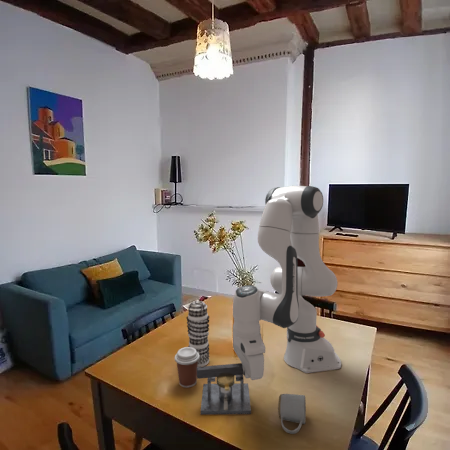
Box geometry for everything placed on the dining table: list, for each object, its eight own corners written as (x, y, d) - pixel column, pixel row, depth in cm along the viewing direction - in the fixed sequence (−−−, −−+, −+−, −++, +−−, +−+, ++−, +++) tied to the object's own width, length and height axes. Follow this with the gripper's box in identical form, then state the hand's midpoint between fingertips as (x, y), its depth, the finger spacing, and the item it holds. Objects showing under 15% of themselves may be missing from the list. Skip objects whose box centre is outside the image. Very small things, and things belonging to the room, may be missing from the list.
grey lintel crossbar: (250, 371, 116) (250, 356, 115) (256, 388, 107) (256, 371, 106) (196, 376, 114) (196, 360, 113) (197, 393, 105) (197, 376, 104)
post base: (248, 386, 118) (248, 365, 117) (250, 414, 104) (250, 390, 103) (203, 386, 118) (203, 365, 117) (200, 414, 104) (199, 390, 103)
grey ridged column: (207, 368, 130) (205, 308, 126) (184, 366, 131) (182, 306, 128) (212, 356, 138) (211, 299, 135) (191, 354, 140) (190, 298, 137)
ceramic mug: (279, 408, 107) (279, 386, 106) (305, 412, 105) (306, 390, 103) (276, 433, 97) (276, 409, 95) (305, 438, 95) (305, 414, 93)
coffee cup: (176, 375, 125) (175, 345, 124) (200, 374, 126) (199, 344, 124) (174, 390, 116) (173, 359, 115) (200, 389, 117) (199, 357, 115)
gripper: (228, 324, 115) (228, 360, 117) (247, 353, 96) (247, 397, 98) (245, 321, 117) (245, 358, 119) (267, 350, 97) (267, 393, 99)
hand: (246, 376), depth 108 cm, fingers closed
